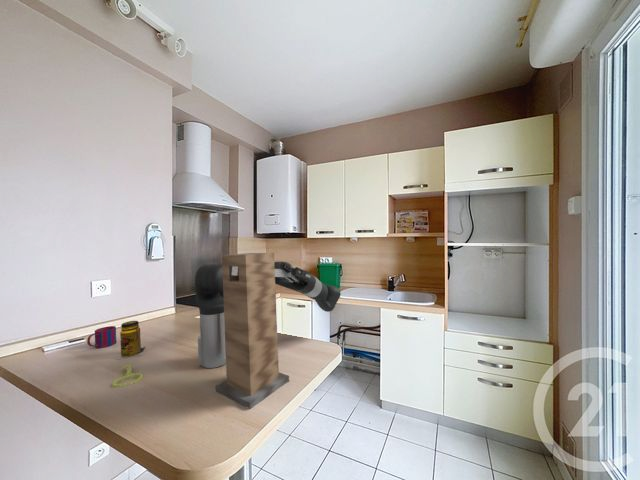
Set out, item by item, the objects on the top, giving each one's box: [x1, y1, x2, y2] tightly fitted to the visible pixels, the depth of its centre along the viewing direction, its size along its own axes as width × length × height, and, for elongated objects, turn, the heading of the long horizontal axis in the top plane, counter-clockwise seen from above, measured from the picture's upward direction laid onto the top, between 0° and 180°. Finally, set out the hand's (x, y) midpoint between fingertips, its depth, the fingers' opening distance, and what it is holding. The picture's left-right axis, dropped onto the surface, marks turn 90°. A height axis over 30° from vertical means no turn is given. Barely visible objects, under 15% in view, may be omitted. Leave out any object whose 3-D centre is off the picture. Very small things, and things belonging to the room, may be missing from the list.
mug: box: [86, 325, 117, 349], centre depth 103 cm, size 7×10×7 cm
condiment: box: [117, 320, 147, 360], centre depth 95 cm, size 7×8×12 cm
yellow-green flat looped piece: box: [111, 363, 144, 388], centre depth 77 cm, size 7×12×2 cm, turn 53°
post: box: [215, 252, 290, 410], centre depth 70 cm, size 14×14×37 cm
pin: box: [232, 266, 291, 277], centre depth 76 cm, size 24×2×2 cm, turn 145°
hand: (278, 264), depth 79 cm, fingers closed on pin, 2 cm apart
